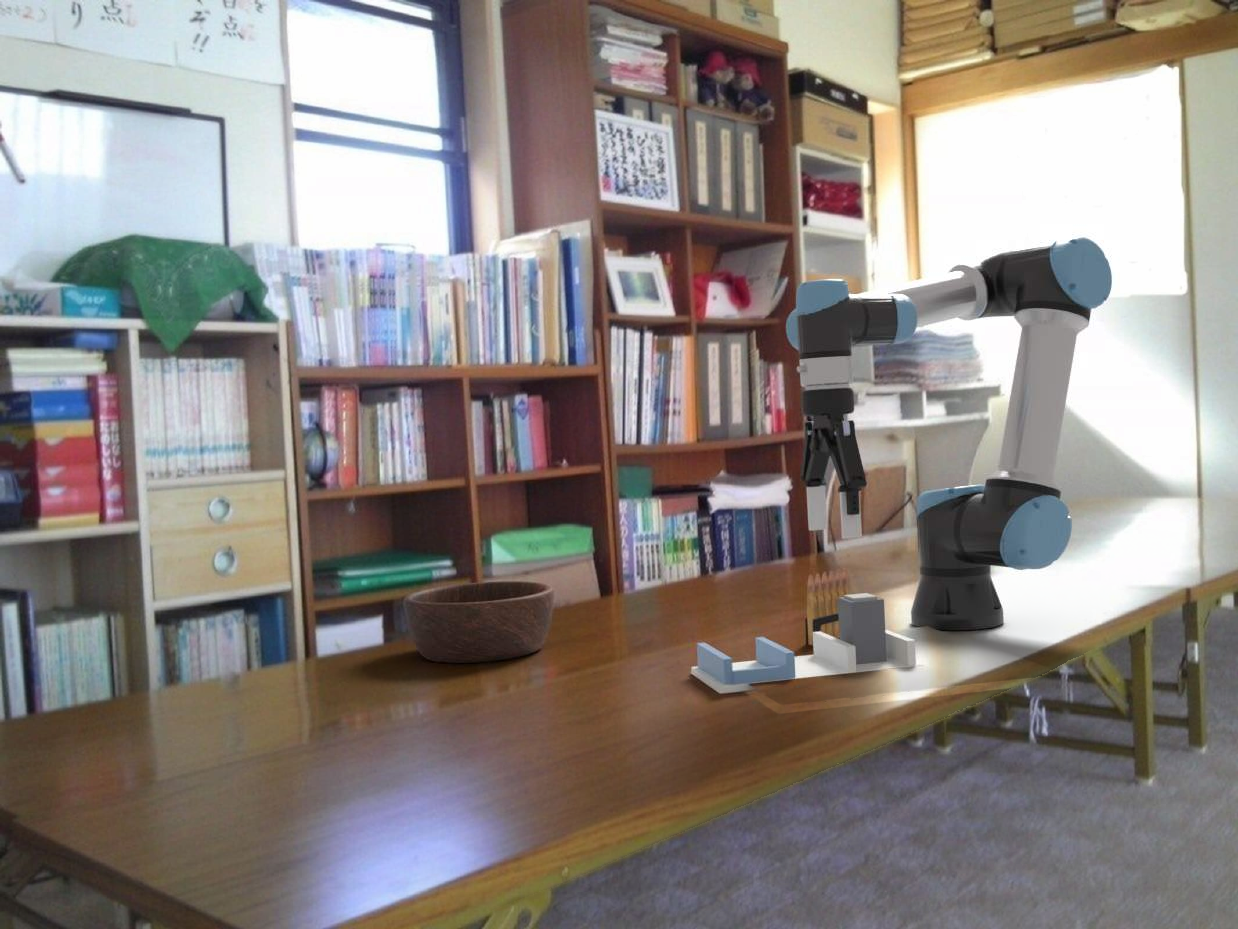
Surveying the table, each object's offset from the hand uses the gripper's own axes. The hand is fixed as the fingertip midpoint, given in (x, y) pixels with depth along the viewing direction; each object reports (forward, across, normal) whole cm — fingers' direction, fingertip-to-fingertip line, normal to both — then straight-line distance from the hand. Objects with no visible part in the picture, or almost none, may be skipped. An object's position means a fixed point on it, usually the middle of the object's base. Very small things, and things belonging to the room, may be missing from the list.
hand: (834, 534), depth 182 cm
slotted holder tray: (+19, +2, -6) cm, 20 cm away
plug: (+18, +2, +3) cm, 19 cm away
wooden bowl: (+20, -37, -49) cm, 65 cm away
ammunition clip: (+20, -15, +4) cm, 25 cm away
